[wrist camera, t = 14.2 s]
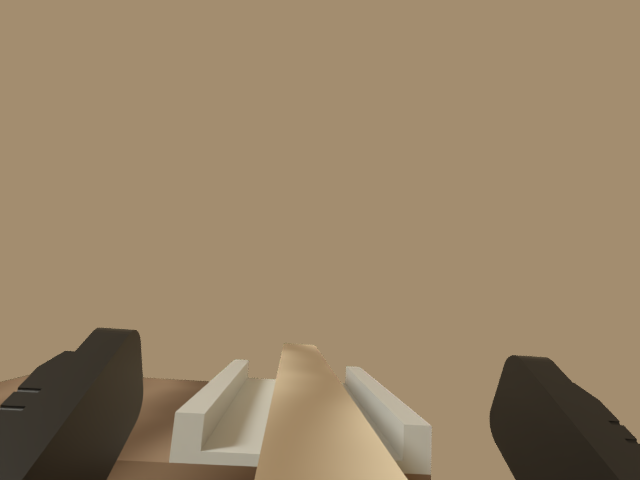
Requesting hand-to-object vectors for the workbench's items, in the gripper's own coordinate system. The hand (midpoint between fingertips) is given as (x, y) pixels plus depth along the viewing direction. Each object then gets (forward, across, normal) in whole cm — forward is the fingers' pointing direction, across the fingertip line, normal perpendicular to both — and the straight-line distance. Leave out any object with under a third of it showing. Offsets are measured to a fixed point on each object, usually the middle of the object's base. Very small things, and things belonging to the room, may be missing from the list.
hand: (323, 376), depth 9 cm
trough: (+10, 0, +10) cm, 14 cm away
